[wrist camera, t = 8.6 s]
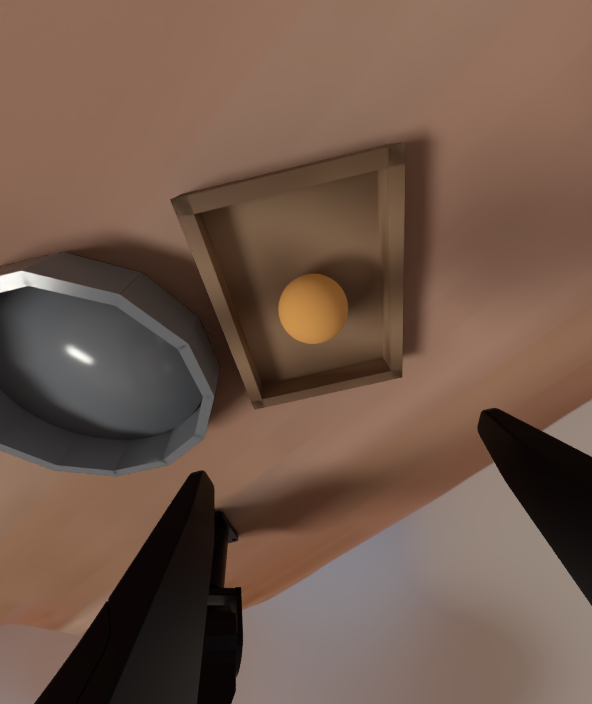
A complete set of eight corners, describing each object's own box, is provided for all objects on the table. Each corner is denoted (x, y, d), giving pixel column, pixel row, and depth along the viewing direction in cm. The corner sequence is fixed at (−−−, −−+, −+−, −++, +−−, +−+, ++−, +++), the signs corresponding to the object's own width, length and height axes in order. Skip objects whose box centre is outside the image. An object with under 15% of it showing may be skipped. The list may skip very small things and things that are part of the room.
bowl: (242, 417, 25) (240, 449, 22) (70, 455, 25) (46, 491, 22) (159, 228, 16) (138, 242, 13) (-103, 291, 16) (-176, 317, 14)
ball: (341, 316, 19) (359, 348, 16) (284, 330, 20) (290, 364, 16) (334, 257, 17) (353, 280, 14) (269, 273, 17) (272, 299, 14)
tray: (390, 359, 23) (402, 377, 21) (254, 389, 23) (254, 409, 21) (387, 144, 15) (405, 142, 13) (181, 194, 15) (170, 199, 13)
